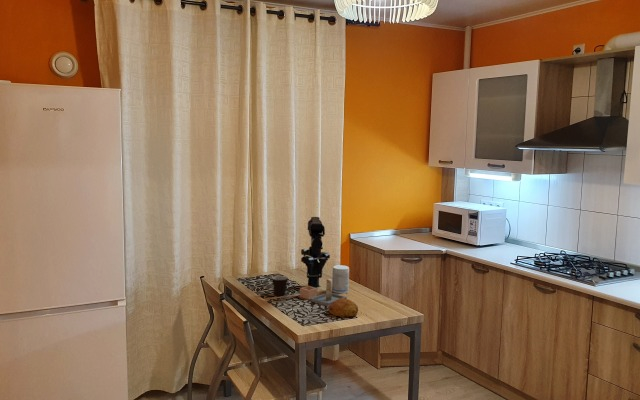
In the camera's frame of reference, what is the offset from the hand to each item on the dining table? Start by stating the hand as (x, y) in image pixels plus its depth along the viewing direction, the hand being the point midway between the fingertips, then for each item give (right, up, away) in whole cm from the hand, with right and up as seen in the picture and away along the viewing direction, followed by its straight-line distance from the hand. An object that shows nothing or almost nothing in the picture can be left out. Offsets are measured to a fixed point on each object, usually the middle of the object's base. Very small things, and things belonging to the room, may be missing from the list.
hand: (315, 272), depth 286 cm
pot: (-4, -13, -5) cm, 15 cm away
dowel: (+7, -13, -10) cm, 18 cm away
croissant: (+14, -17, -28) cm, 35 cm away
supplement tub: (+14, -13, +9) cm, 21 cm away
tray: (+7, -14, -10) cm, 19 cm away
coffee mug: (-20, -13, -1) cm, 23 cm away
